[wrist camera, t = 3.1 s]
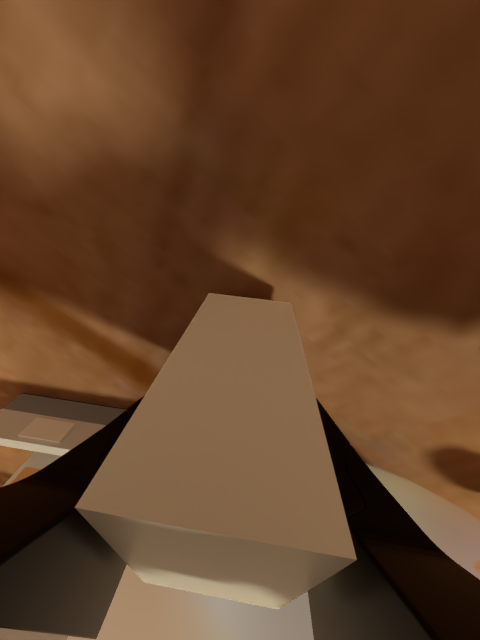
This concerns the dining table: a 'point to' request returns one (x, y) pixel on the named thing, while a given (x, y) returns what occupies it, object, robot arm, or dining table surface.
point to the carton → (226, 465)
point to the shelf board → (51, 423)
